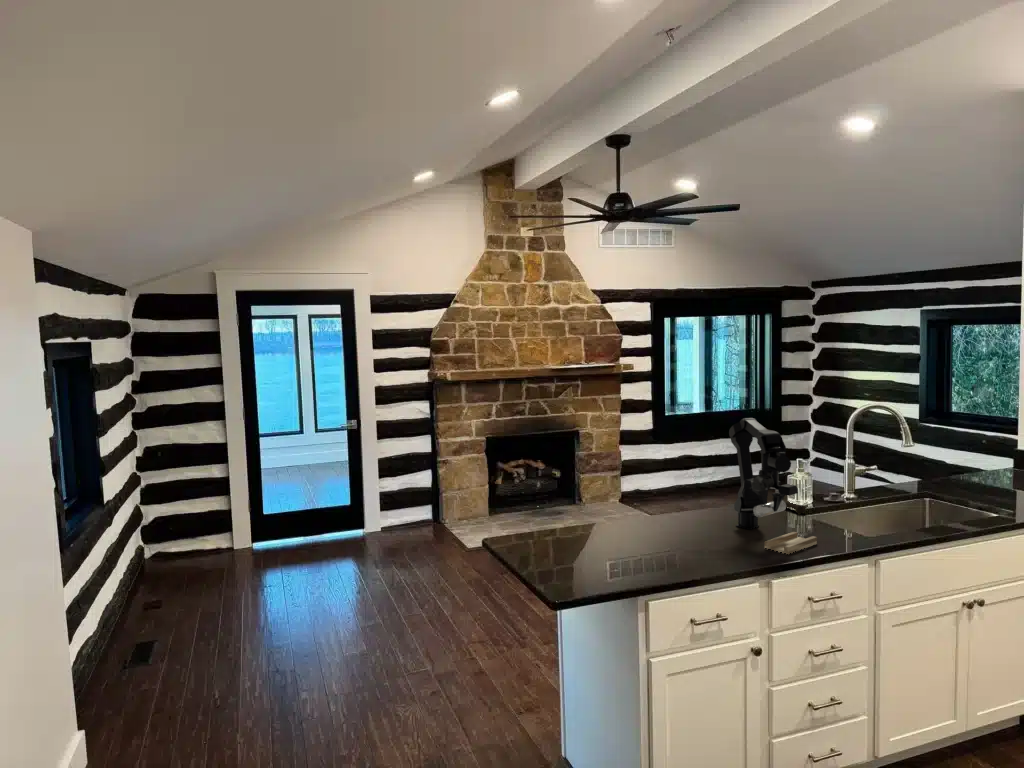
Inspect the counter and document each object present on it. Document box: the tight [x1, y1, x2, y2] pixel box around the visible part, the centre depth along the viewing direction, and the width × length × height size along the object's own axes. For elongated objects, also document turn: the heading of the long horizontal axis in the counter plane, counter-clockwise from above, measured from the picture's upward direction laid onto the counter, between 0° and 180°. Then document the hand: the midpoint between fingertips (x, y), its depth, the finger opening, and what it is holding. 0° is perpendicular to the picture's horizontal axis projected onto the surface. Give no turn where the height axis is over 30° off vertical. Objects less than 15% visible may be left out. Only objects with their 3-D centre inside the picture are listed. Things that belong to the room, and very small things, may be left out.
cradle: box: [764, 531, 818, 555], centre depth 256 cm, size 9×18×2 cm, turn 127°
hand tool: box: [771, 496, 806, 514], centre depth 307 cm, size 19×4×5 cm, turn 14°
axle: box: [753, 500, 786, 518], centre depth 262 cm, size 14×4×4 cm, turn 127°
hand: (770, 510), depth 262 cm, fingers closed on axle, 4 cm apart
